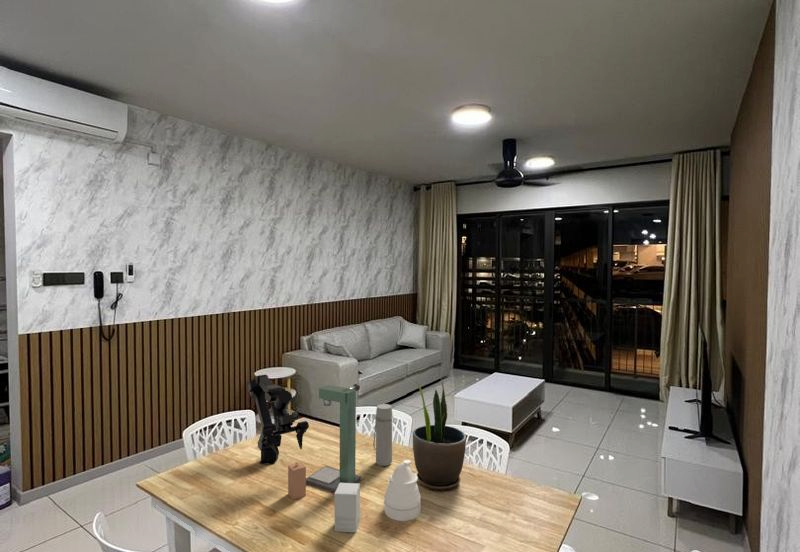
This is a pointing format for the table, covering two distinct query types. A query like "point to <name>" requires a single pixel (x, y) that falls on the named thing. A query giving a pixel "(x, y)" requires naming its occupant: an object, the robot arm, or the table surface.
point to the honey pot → (402, 494)
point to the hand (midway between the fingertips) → (290, 451)
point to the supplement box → (347, 507)
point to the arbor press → (346, 474)
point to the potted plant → (438, 449)
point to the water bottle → (383, 434)
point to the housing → (297, 480)
